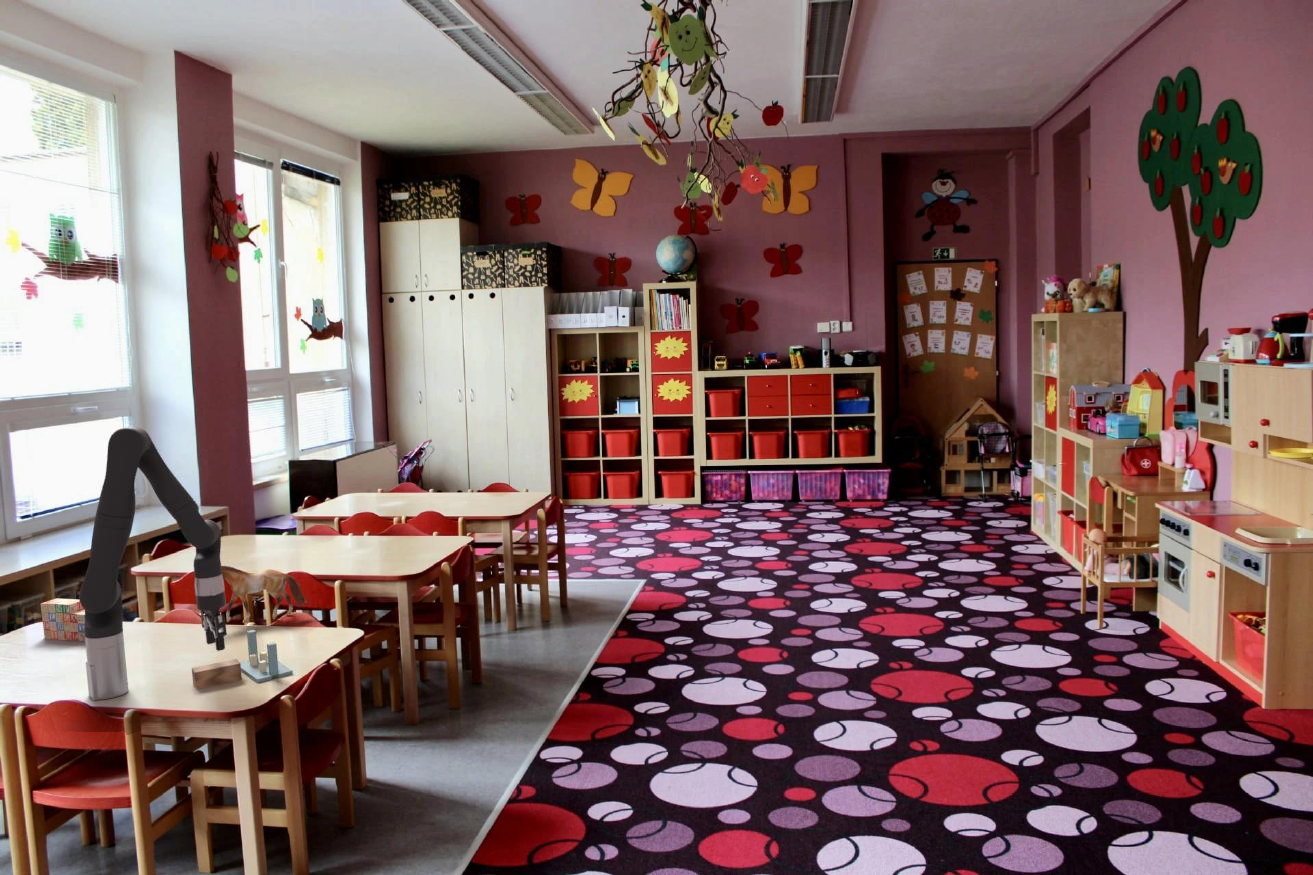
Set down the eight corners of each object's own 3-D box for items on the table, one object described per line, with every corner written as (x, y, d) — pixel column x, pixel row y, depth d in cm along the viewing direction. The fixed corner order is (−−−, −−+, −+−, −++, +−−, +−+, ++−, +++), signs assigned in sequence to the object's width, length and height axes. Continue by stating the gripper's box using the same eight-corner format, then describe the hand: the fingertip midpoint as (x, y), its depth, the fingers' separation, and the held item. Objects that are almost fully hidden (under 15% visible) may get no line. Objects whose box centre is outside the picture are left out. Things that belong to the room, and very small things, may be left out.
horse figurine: (211, 627, 332) (206, 568, 330) (216, 621, 340) (211, 563, 338) (307, 618, 340) (303, 560, 338) (310, 612, 347) (306, 555, 345)
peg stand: (257, 682, 277) (254, 648, 275) (235, 666, 291) (233, 634, 290) (292, 673, 283) (290, 640, 282) (269, 658, 297) (267, 626, 296)
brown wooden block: (196, 689, 273) (194, 672, 273) (193, 684, 277) (191, 667, 277) (241, 680, 280) (240, 663, 279) (238, 675, 284) (236, 658, 283)
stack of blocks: (109, 636, 326) (106, 600, 324) (93, 642, 320) (90, 606, 319) (60, 632, 332) (56, 597, 331) (43, 638, 326) (40, 602, 325)
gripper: (188, 589, 279) (194, 644, 281) (203, 598, 268) (209, 655, 270) (216, 584, 284) (221, 638, 285) (232, 592, 273) (237, 648, 275)
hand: (215, 646), depth 278 cm, fingers open, 8 cm apart
